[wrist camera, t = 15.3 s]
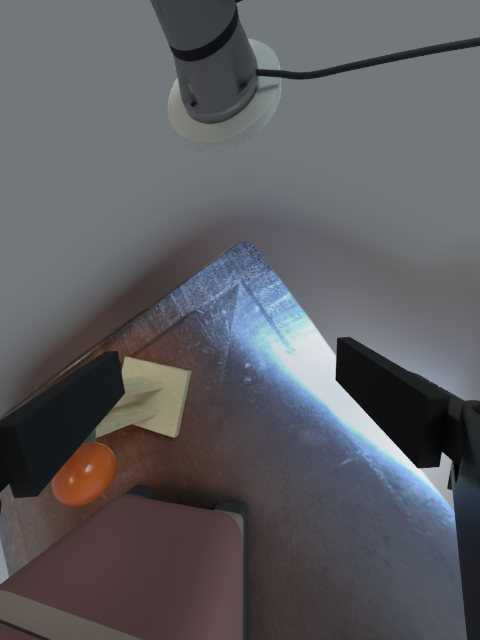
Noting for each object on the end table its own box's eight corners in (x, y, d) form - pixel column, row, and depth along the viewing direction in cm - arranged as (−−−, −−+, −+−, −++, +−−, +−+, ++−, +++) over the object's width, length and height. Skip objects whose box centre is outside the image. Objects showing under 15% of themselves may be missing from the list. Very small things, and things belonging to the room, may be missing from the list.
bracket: (191, 371, 37) (131, 378, 24) (178, 435, 36) (108, 480, 23) (129, 356, 40) (47, 356, 27) (116, 415, 39) (22, 444, 26)
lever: (124, 455, 15) (57, 460, 13) (110, 513, 15) (39, 527, 13) (110, 391, 29) (75, 389, 27) (102, 420, 29) (67, 421, 27)
